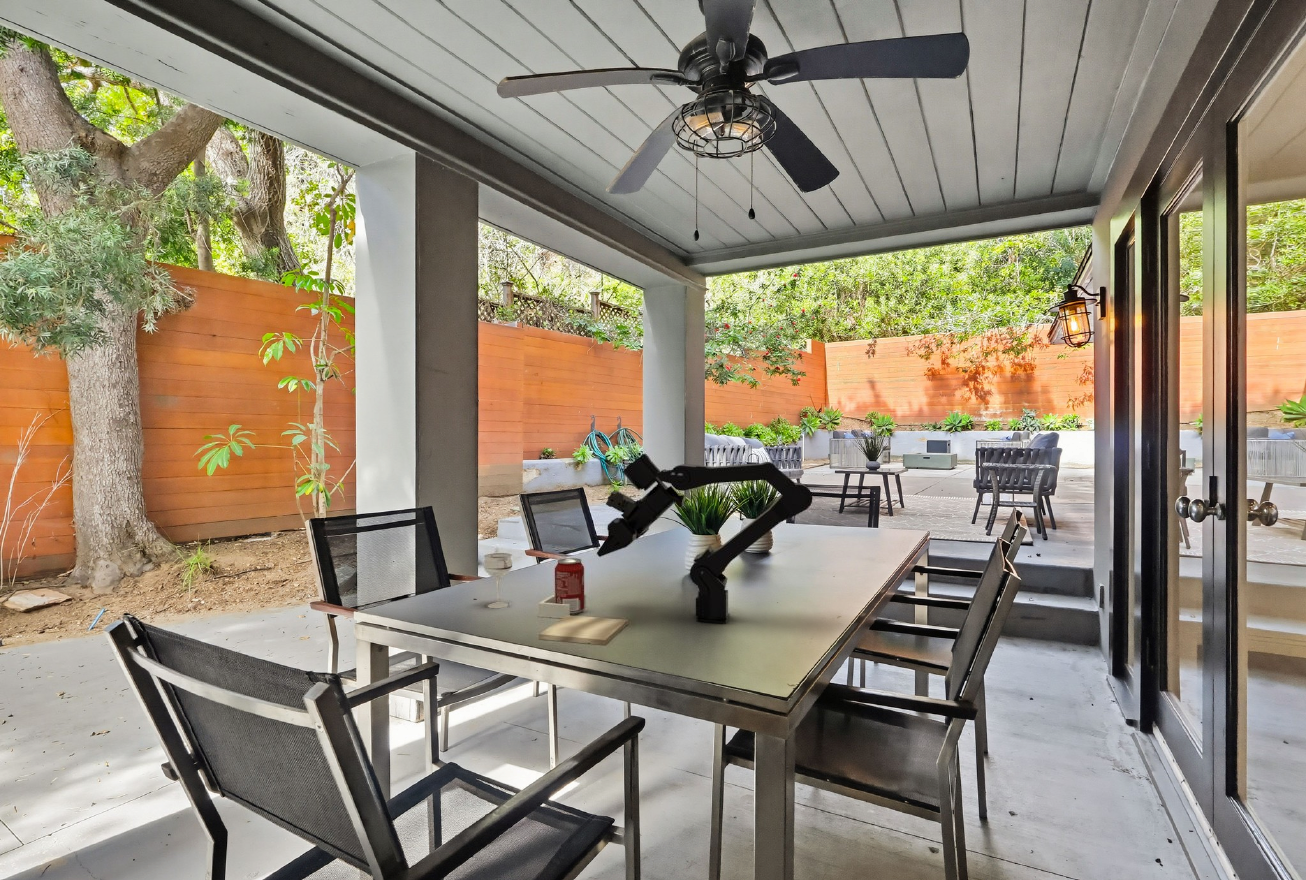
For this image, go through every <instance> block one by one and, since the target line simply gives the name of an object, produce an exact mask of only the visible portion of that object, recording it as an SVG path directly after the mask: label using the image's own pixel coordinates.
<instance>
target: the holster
mask: <svg viewBox="0 0 1306 880" xmlns="http://www.w3.org/2000/svg"><path fill="white" fill-rule="evenodd" d="M537 607H538V609H537V610H538V612H537V613H538V616H537V617H541V618H550V617H551V618H552V619H553V618H554V619H562V618H564V617H565V616H567V615H570V605H569V604H555V593H554V594H552V595H550V596H548V597H547V598H545V599H544V600H542V601H540V602H538V606H537ZM584 607H585V608H587V593H584ZM570 616H571V615H570Z"/></svg>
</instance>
